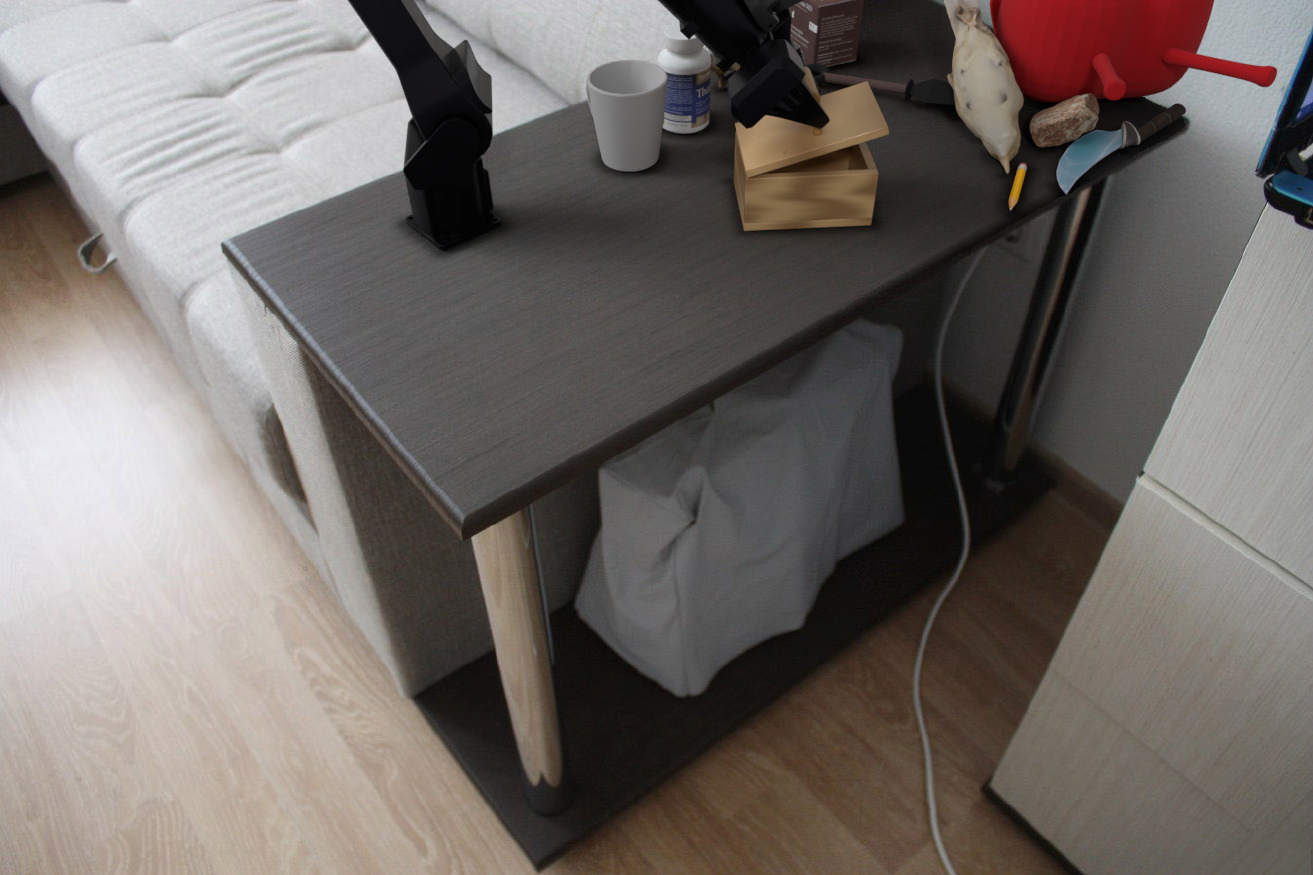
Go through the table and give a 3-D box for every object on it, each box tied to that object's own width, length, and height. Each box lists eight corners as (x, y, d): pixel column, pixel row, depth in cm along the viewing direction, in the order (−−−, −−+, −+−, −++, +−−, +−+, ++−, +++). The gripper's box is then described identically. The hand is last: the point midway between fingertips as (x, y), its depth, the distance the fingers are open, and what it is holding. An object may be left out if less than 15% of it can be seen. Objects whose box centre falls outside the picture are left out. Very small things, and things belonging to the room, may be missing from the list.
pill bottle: (705, 137, 105) (706, 44, 98) (653, 133, 106) (652, 40, 99) (713, 113, 109) (715, 21, 102) (664, 109, 110) (663, 18, 103)
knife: (1023, 183, 99) (1069, 204, 96) (1026, 168, 97) (1073, 189, 95) (1138, 101, 108) (1183, 118, 106) (1143, 87, 107) (1189, 104, 105)
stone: (1068, 142, 107) (1035, 107, 107) (1115, 104, 103) (1081, 67, 102) (1054, 168, 102) (1019, 132, 102) (1102, 129, 98) (1066, 91, 98)
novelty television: (1130, -69, 114) (1324, 3, 91) (1100, 50, 122) (1271, 144, 99) (957, -59, 111) (1113, 19, 88) (938, 62, 119) (1075, 163, 95)
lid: (868, 88, 93) (859, 37, 90) (889, 134, 87) (880, 81, 83) (736, 130, 95) (722, 81, 92) (747, 178, 89) (733, 127, 86)
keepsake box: (853, 177, 99) (859, 126, 95) (871, 225, 93) (879, 173, 89) (733, 182, 99) (735, 131, 95) (743, 231, 93) (746, 179, 89)
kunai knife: (1032, 135, 102) (1036, 105, 99) (787, 93, 115) (786, 65, 112) (1047, 115, 104) (1051, 85, 102) (805, 76, 117) (804, 48, 114)
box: (785, 51, 120) (789, -13, 114) (829, 41, 121) (836, -23, 116) (812, 72, 116) (818, 6, 111) (857, 61, 117) (866, -4, 112)
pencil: (1017, 167, 100) (1023, 171, 100) (1004, 211, 94) (1010, 215, 94) (1022, 161, 99) (1028, 165, 99) (1009, 205, 93) (1016, 209, 93)
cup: (624, 187, 98) (620, 103, 93) (563, 148, 104) (555, 67, 98) (684, 160, 102) (684, 78, 96) (621, 124, 108) (618, 44, 102)
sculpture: (911, -27, 106) (932, -5, 110) (967, 181, 99) (988, 197, 103) (967, -62, 102) (987, -38, 106) (1030, 151, 95) (1049, 169, 99)
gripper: (783, -52, 71) (918, 94, 79) (758, -132, 84) (876, -1, 92) (671, 62, 77) (808, 188, 84) (665, -30, 90) (783, 86, 98)
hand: (821, 109), depth 89 cm, fingers closed on lid, 5 cm apart
